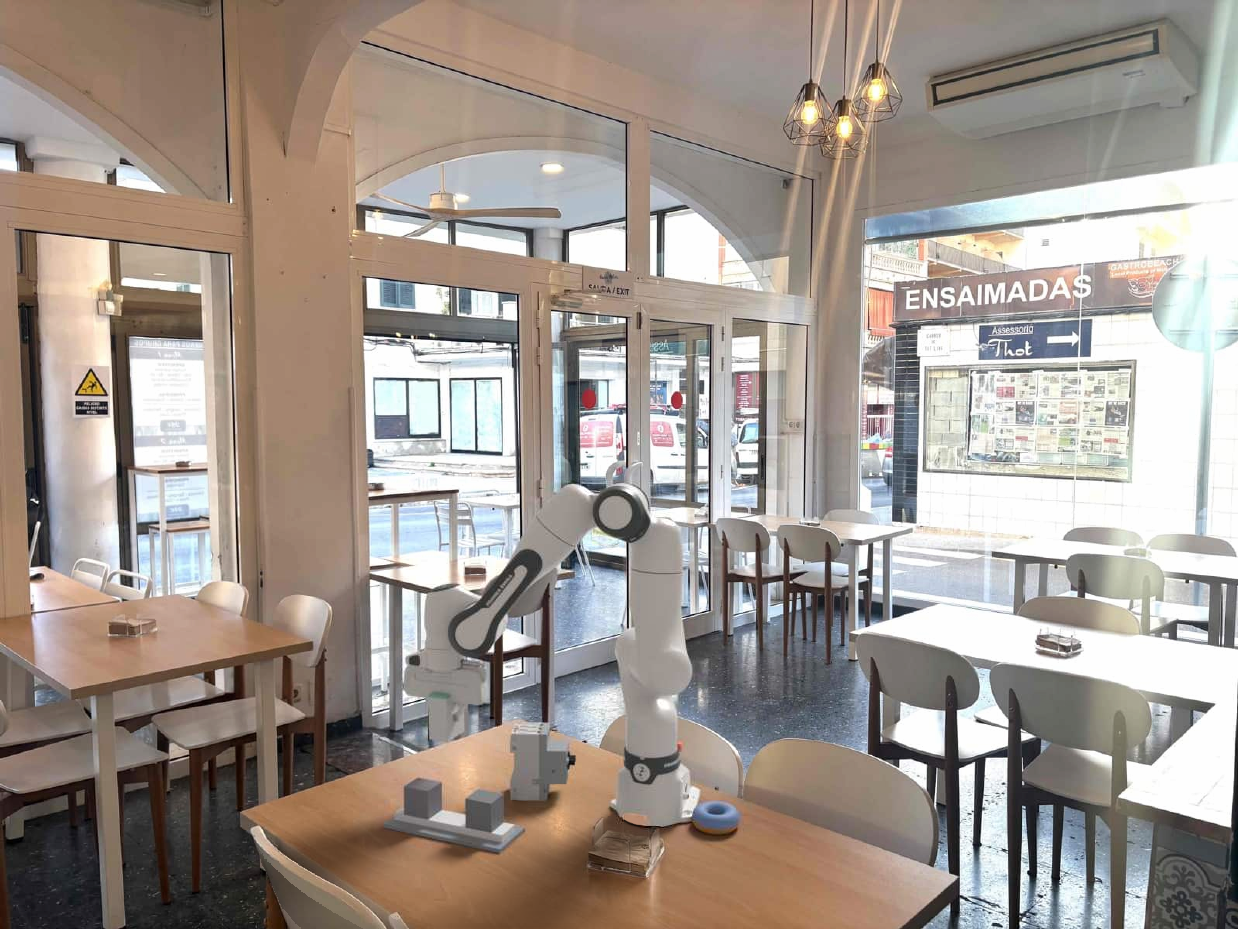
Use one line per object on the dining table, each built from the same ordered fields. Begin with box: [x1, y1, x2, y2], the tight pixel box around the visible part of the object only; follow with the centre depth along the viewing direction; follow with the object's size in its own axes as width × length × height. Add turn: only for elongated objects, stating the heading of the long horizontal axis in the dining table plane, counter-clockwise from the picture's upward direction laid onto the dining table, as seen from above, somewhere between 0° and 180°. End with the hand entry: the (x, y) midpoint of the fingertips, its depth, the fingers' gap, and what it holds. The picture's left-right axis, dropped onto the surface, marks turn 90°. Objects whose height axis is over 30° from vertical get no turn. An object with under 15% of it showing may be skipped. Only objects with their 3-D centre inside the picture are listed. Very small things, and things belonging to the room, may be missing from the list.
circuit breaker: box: [509, 722, 577, 802], centre depth 201 cm, size 8×14×15 cm, turn 89°
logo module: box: [428, 692, 465, 743], centre depth 196 cm, size 4×7×10 cm, turn 157°
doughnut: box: [691, 800, 740, 836], centre depth 186 cm, size 10×10×5 cm
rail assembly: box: [382, 777, 526, 854], centre depth 184 cm, size 10×28×8 cm, turn 67°
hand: (446, 719), depth 196 cm, fingers closed on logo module, 4 cm apart
